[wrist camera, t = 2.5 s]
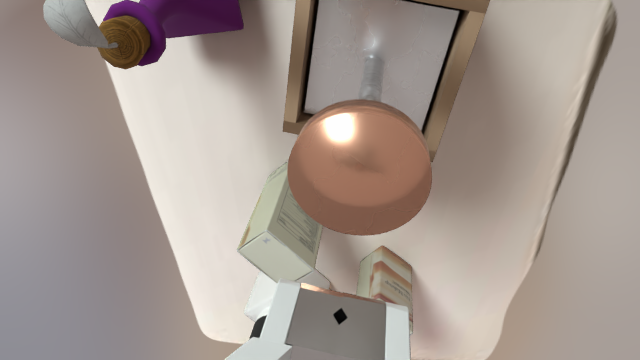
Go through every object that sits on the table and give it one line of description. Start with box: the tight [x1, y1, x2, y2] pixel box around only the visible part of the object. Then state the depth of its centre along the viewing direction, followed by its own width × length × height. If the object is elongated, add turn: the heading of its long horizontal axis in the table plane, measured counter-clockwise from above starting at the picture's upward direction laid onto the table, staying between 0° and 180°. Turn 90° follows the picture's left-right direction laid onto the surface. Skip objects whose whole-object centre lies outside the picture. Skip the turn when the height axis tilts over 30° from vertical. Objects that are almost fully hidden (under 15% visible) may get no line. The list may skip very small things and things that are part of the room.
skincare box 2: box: [356, 246, 413, 335], centre depth 46 cm, size 5×4×10 cm
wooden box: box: [283, 0, 490, 162], centre depth 29 cm, size 10×10×14 cm
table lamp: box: [287, 0, 459, 235], centre depth 20 cm, size 8×8×13 cm
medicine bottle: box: [244, 269, 330, 340], centre depth 50 cm, size 7×7×12 cm
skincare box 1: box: [237, 162, 323, 283], centre depth 41 cm, size 6×4×12 cm
